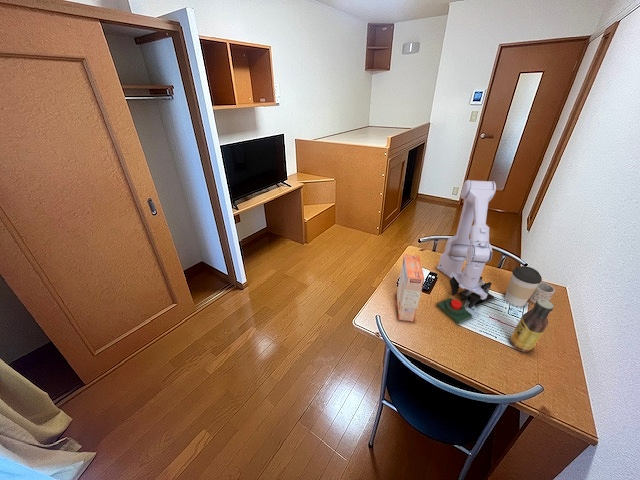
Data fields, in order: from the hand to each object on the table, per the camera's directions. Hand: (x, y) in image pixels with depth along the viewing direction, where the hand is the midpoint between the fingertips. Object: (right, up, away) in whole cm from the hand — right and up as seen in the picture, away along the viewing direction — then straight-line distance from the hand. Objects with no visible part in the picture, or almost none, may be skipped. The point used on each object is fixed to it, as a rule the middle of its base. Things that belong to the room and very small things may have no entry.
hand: (462, 300), depth 102 cm
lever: (+4, +3, +1) cm, 5 cm away
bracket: (+8, +1, +4) cm, 9 cm away
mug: (+30, +1, +3) cm, 30 cm away
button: (-5, -1, -5) cm, 7 cm away
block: (-5, -4, -3) cm, 7 cm away
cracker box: (-23, -3, 0) cm, 23 cm away
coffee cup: (+22, 0, +2) cm, 22 cm away
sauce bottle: (+11, -11, -16) cm, 22 cm away
